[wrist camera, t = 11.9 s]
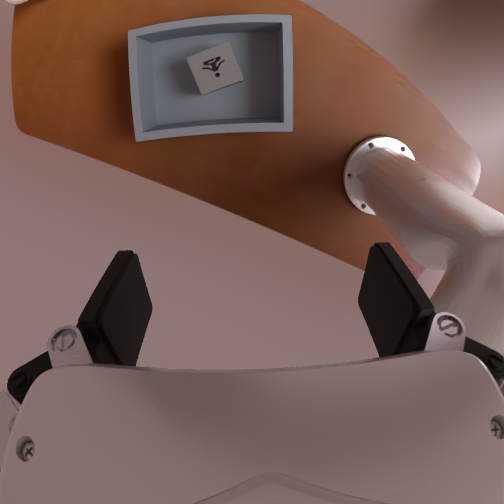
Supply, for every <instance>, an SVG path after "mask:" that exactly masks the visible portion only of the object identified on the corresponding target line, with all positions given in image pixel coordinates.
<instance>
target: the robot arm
mask: <svg viewBox="0 0 504 504" xmlns="http://www.w3.org/2000/svg"><path fill="white" fill-rule="evenodd" d="M369 143H370V145H369V146H368V144H369ZM349 173H350V175H349V176H348V174H349ZM343 182H344V187H345V191H346V193H347V195H348V197H349V199H350V200H351V202H352V203H353V204H354V205H355V206H356V207H357V208H358V209H359V210H361V211H363V212H365V213H367V214H371V215H377V216H378V217H379V218H380V220H381V221H382V222H383V223H384V224H385V225H386V227H387V228H388V229H389V230H390V231H391V233H392V234H393V235H394V236H395V237H396V239H397V240H398V241H399V242H400V243H401V245H402V246H403V247H404V248H405V250H406V251H407V252H408V253H409V255H410V256H411V257H412V258H413V259H414V260H415V261H416V262H417V263H419V264H420V265H422V266H424V267H426V268H428V269H433V270H444V271H445V274H444V275H443V277H442V279H441V281H440V283H439V284H438V286H437V288H436V291H435V292H434V294H433V295H432V297H431V298H430V300H429V298H428V297H427V295H426V293H425V292H424V290H423V289H422V288H421V286H420V285H419V284H418V282H417V280H416V279H415V277H414V276H413V274H412V273H411V272H410V270H409V269H408V267H407V266H406V265H405V263H404V262H403V260H402V259H401V258H400V256H399V255H398V254H397V252H396V251H395V250H394V248H393V247H392V246H391V244H390V243H388V242H385V243H375V244H374V246H372V247H371V248H370V251H369V255H368V260H367V264H366V269H365V273H364V277H363V281H362V285H361V289H360V293H359V297H358V303H359V307H360V309H361V311H362V314H363V316H364V318H365V321H366V323H367V326H368V328H369V331H370V333H371V336H372V338H373V341H374V343H375V346H376V349H377V351H378V354H379V356H380V357H379V358H373V359H365V360H358V361H351V362H343V363H334V364H325V365H314V366H302V367H290V368H273V369H243V370H195V369H194V370H193V369H167V368H150V367H136V362H137V359H138V355H139V352H140V349H141V345H142V342H143V339H144V336H145V332H146V329H147V326H148V322H149V320H150V317H151V313H152V303H151V300H150V296H149V293H148V290H147V287H146V283H145V280H144V277H143V273H142V269H141V266H140V262H139V258H138V256H137V254H134V253H133V251H131V250H129V251H128V250H127V251H118V252H117V254H116V255H115V257H114V258H113V260H112V262H111V263H110V265H109V266H108V268H107V270H106V271H105V273H104V275H103V276H102V278H101V280H100V281H99V283H98V285H97V287H96V288H95V290H94V292H93V294H92V295H91V297H90V299H89V301H88V303H87V304H86V306H85V308H84V310H83V312H82V314H81V315H80V317H79V319H78V321H79V322H78V324H77V326H76V327H75V326H72V325H67V326H63V327H60V328H58V329H57V330H55V331H54V332H53V333H52V334H51V336H50V337H49V339H48V343H47V347H48V351H47V352H45V353H43V354H41V355H40V356H38V357H36V358H35V359H33V360H31V361H29V362H28V363H26V364H24V365H23V366H21V367H19V368H17V369H16V370H15V371H13V373H12V374H11V375H10V377H9V379H8V383H7V388H8V390H7V391H5V390H4V389H3V390H2V391H1V392H0V504H504V214H502V213H500V212H498V211H496V210H494V209H493V208H491V207H489V206H487V205H486V204H484V203H482V202H481V201H479V200H477V199H476V198H474V197H473V196H471V195H470V194H468V193H467V192H465V191H464V190H462V189H461V188H459V187H458V186H456V185H455V184H453V183H451V182H449V181H448V180H446V179H445V178H443V177H442V176H440V175H438V174H437V173H435V172H434V171H432V170H430V169H429V168H427V167H425V166H424V165H422V164H420V163H418V162H417V161H415V158H414V156H413V154H412V152H411V151H410V149H409V148H408V147H407V146H406V145H405V144H403V143H402V142H401V141H399V140H397V139H395V138H392V137H389V136H375V137H372V138H368V139H366V140H365V141H363V142H361V143H360V144H359V145H358V146H357V147H355V149H354V150H353V151H352V152H351V154H350V155H349V157H348V159H347V161H346V164H345V167H344V174H343ZM362 204H363V205H362Z"/></svg>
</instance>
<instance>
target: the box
mask: <svg viewBox="0 0 504 504" xmlns="http://www.w3.org/2000/svg"><path fill="white" fill-rule="evenodd" d="M226 42H229V44H230V46H231V49H232V51H233V53H234V56H235V58H236V61H237V63H238V66H239V68H240V71H241V73H242V76H243V78H244V81H243V82H240V83H237V84H234V85H231V86H228V87H226V88H223V89H220V90H217V91H215V92H212V93H210V94H207V95H201V93H200V90H199V88H198V85H197V83H196V81H195V78H194V76H193V73H192V71H191V69H190V66H189V64H188V61H187V59H186V58H187V57H189V56H192V55H194V54H197V53H199V52H202V51H204V50H207V49H209V48H212V47H215V46H217V45H220V44H223V43H226ZM128 55H129V75H130V90H131V102H132V112H133V122H134V131H135V139H136V142H139V141H146V140H153V139H161V138H170V137H179V136H190V135H201V134H215V133H234V132H293V47H292V15H269V14H249V15H225V16H212V17H202V18H193V19H186V20H179V21H173V22H167V23H161V24H156V25H151V26H147V27H142V28H138V29H134V30H130V31H128Z"/></svg>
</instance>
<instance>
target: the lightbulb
mask: <svg viewBox="0 0 504 504" xmlns="http://www.w3.org/2000/svg"><path fill="white" fill-rule="evenodd" d="M5 1H6V2H7V3H9V4H12V5H18V4H22V3H25V2H27V1H29V0H5Z"/></svg>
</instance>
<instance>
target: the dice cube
mask: <svg viewBox="0 0 504 504" xmlns="http://www.w3.org/2000/svg"><path fill="white" fill-rule="evenodd" d="M186 59H187V61H188V64H189V66H190V69H191V71H192V73H193V76H194V78H195V81H196V83H197V85H198V88H199V90H200V93H201V95H207V94H210V93H212V92H215V91H217V90H220V89H223V88H226V87H228V86H231V85H234V84H237V83H240V82H243V81H244V78H243V76H242V73H241V71H240V68H239V66H238V63H237V61H236V58H235V56H234V53H233V51H232V49H231V46H230V44H229V42H226V43H223V44H220V45H217V46H215V47H212V48H209V49H207V50H204V51H202V52H199V53H197V54H194V55H192V56H189V57H187V58H186Z"/></svg>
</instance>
